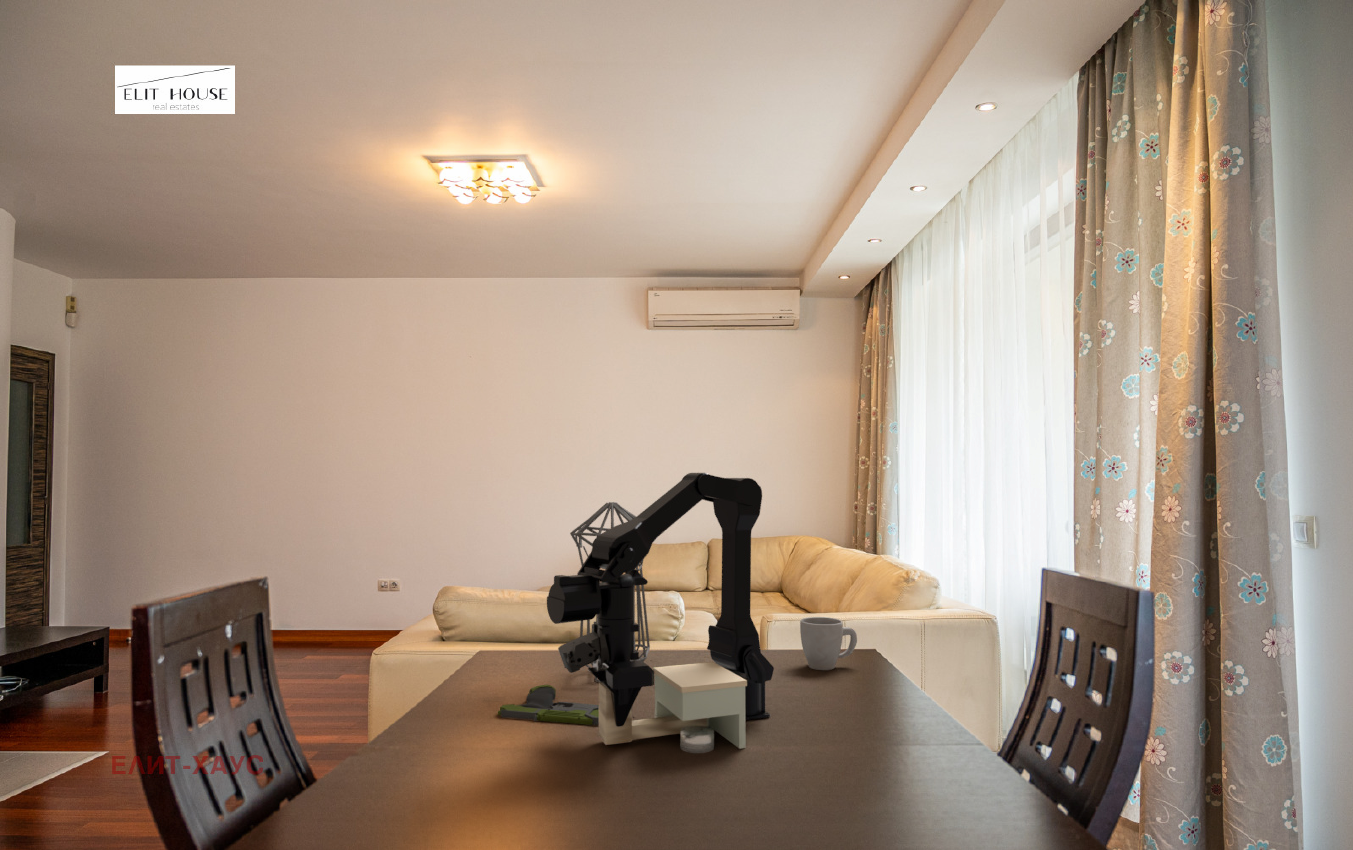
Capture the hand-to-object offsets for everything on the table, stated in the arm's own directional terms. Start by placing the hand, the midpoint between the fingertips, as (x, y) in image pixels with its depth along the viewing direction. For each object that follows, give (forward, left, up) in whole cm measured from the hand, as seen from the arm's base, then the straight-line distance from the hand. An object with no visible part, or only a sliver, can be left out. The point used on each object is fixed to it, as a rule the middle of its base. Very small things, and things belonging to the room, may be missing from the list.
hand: (615, 721), depth 116 cm
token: (-11, +6, -4) cm, 13 cm away
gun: (+3, -20, -4) cm, 21 cm away
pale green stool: (-12, +3, -3) cm, 13 cm away
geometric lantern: (-10, -37, -4) cm, 39 cm away
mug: (-55, -29, -4) cm, 63 cm away
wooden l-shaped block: (-6, 0, -2) cm, 7 cm away
